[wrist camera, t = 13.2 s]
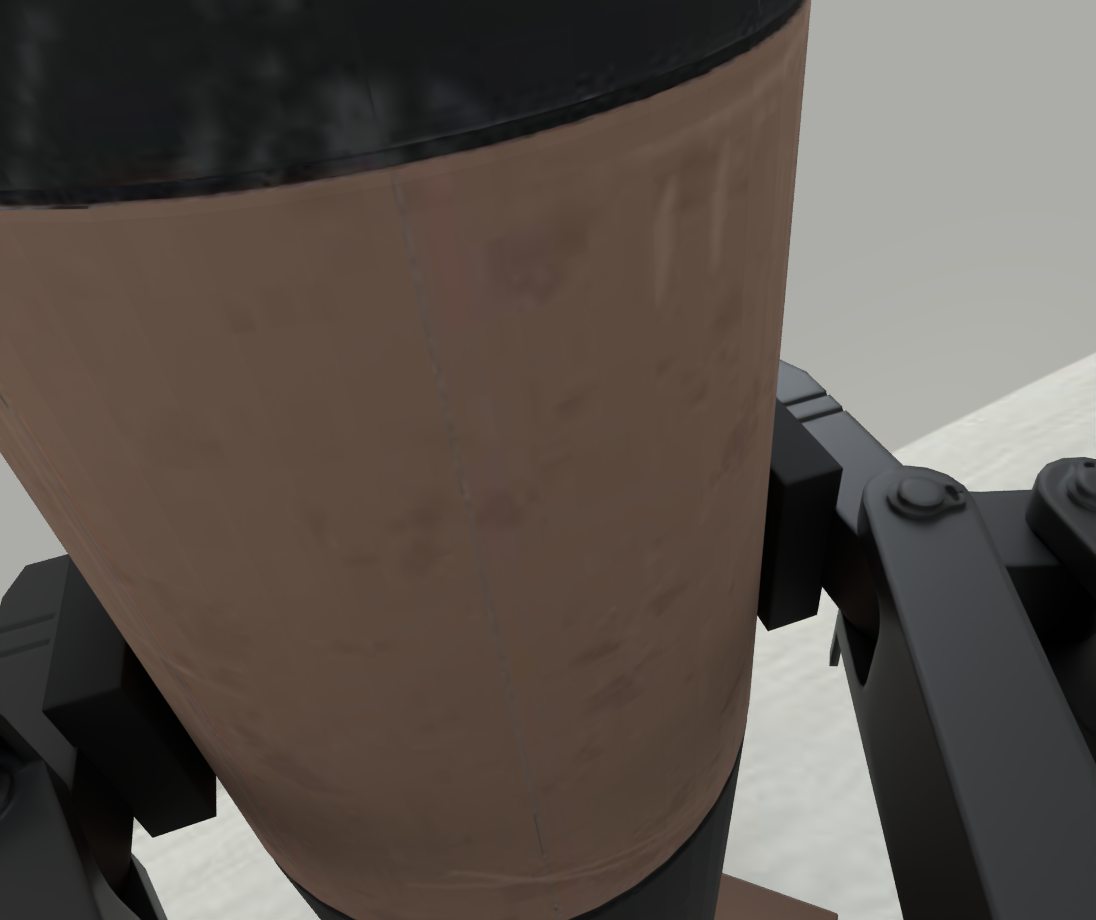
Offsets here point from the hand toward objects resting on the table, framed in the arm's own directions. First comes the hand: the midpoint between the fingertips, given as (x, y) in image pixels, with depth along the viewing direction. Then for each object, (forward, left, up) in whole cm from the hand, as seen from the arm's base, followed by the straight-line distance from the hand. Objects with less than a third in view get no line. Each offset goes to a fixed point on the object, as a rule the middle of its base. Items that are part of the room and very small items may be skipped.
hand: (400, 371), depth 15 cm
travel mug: (+4, +3, -11) cm, 12 cm away
